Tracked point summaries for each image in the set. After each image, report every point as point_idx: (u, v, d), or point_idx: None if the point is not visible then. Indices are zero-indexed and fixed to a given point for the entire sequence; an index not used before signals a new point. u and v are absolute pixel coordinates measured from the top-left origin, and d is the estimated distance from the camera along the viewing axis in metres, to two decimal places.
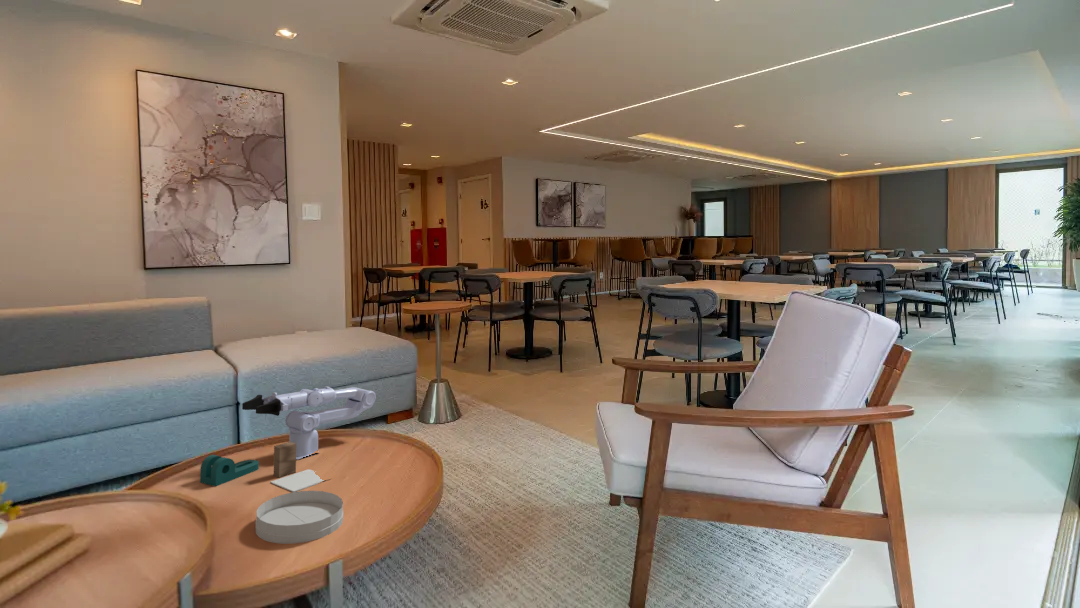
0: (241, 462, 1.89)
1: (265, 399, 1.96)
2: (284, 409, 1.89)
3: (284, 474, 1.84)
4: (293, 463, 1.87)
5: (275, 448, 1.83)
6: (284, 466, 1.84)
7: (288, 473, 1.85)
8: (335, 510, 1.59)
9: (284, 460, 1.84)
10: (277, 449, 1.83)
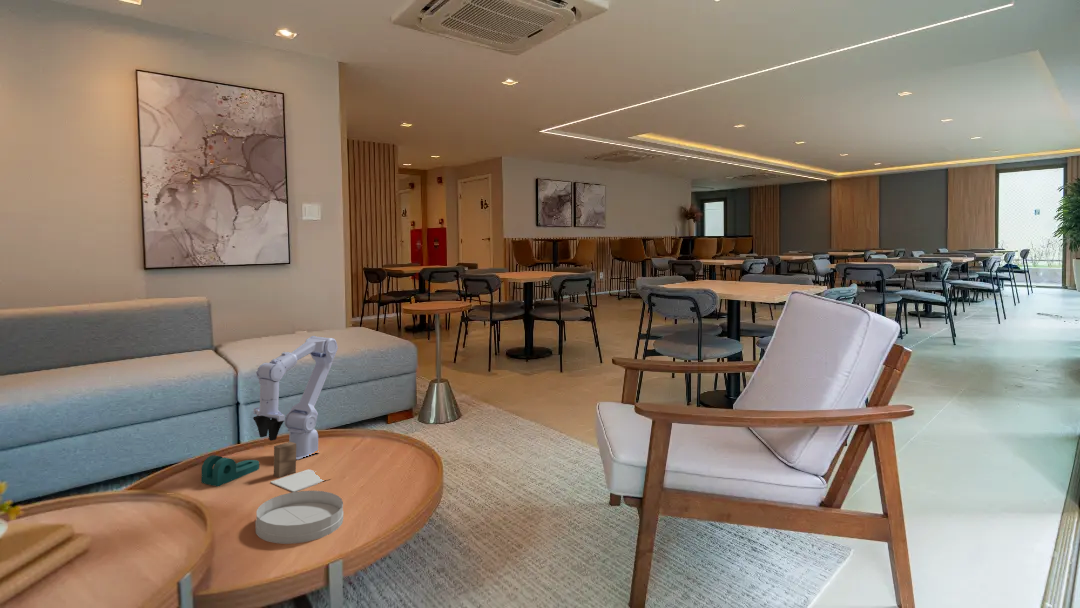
0: (241, 462, 1.89)
1: None
2: (283, 419, 1.86)
3: (284, 474, 1.84)
4: (293, 463, 1.87)
5: (275, 448, 1.83)
6: (284, 466, 1.84)
7: (288, 473, 1.85)
8: (335, 510, 1.59)
9: (284, 460, 1.84)
10: (277, 449, 1.83)
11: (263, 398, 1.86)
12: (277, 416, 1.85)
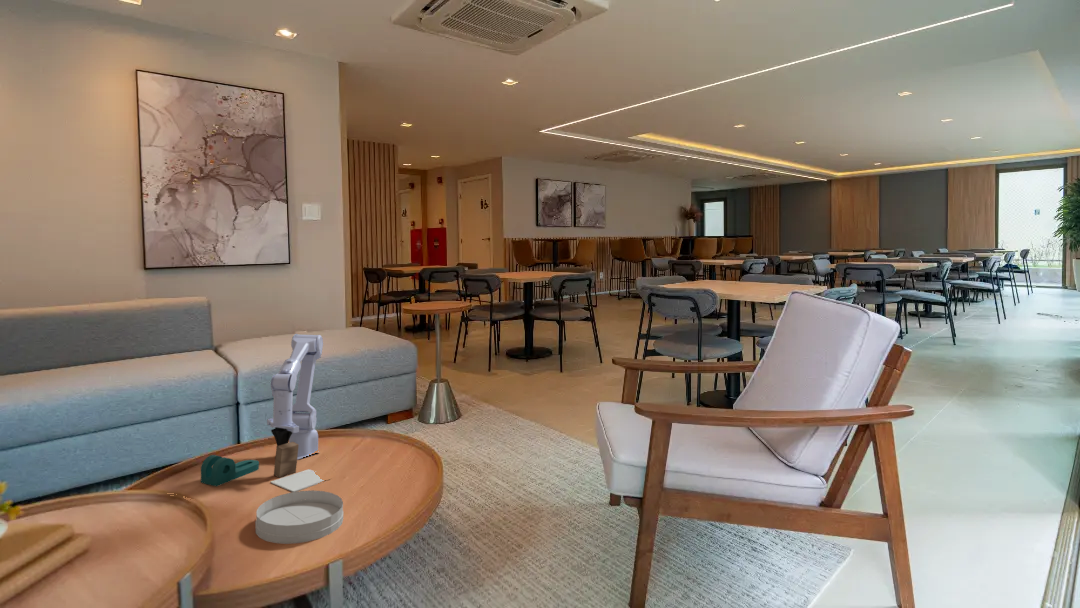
0: (241, 462, 1.89)
1: None
2: (297, 430, 1.82)
3: (284, 474, 1.84)
4: (294, 463, 1.86)
5: (277, 448, 1.82)
6: (285, 466, 1.84)
7: (288, 473, 1.85)
8: (335, 510, 1.59)
9: (286, 460, 1.83)
10: (279, 449, 1.82)
11: (280, 410, 1.82)
12: (291, 428, 1.81)
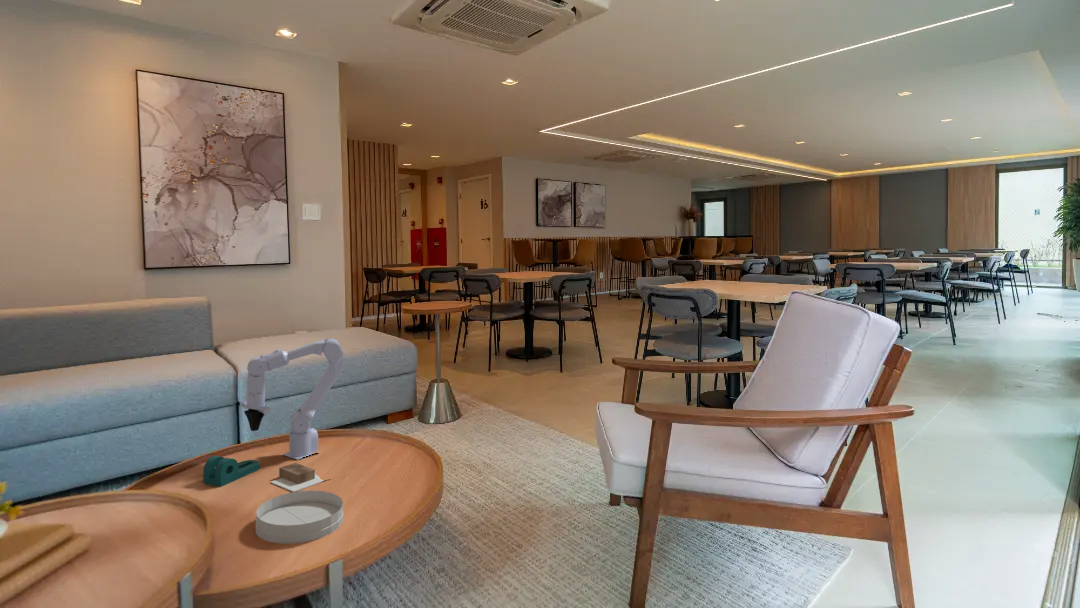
0: (241, 462, 1.89)
1: None
2: (268, 411, 1.93)
3: None
4: None
5: (297, 476, 1.78)
6: None
7: None
8: (335, 510, 1.59)
9: None
10: (296, 479, 1.78)
11: (247, 390, 1.95)
12: (263, 409, 1.92)
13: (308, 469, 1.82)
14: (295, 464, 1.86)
